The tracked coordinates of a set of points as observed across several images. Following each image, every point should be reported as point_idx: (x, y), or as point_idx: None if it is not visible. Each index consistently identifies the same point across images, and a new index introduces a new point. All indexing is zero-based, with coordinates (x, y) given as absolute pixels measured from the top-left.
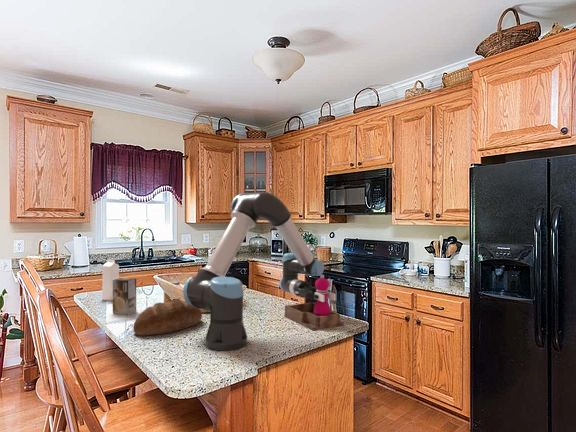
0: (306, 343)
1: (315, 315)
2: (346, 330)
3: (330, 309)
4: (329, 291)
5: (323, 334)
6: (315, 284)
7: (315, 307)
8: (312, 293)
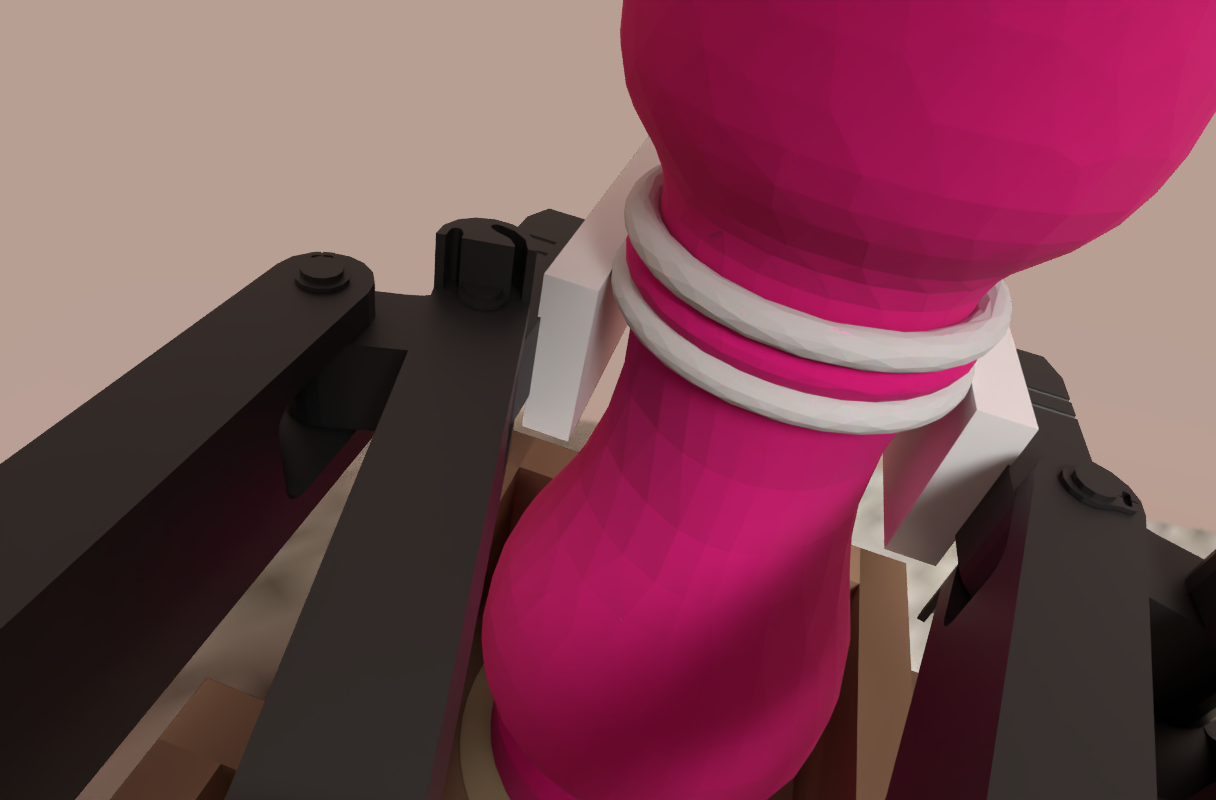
0: (1149, 527)
1: (868, 647)
2: (584, 433)
3: (233, 694)
4: (368, 285)
5: (874, 534)
6: (1196, 134)
7: (848, 643)
8: (1099, 480)
